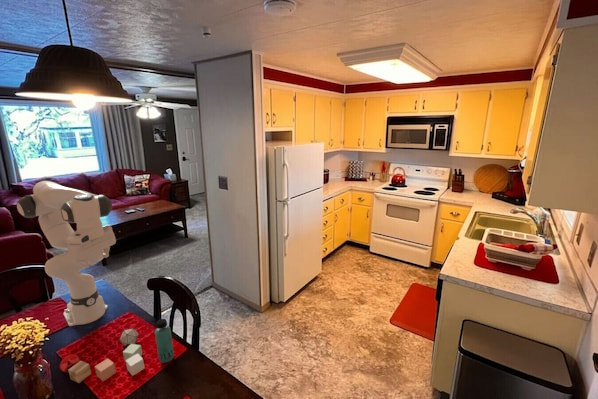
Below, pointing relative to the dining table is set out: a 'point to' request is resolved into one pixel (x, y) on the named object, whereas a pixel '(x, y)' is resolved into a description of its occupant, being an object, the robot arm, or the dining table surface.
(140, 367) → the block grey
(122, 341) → the game die
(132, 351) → the block sage
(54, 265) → the robot arm
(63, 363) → the cap
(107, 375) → the block terracotta
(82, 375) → the block oak
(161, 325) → the beverage bottle
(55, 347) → the dining table surface
